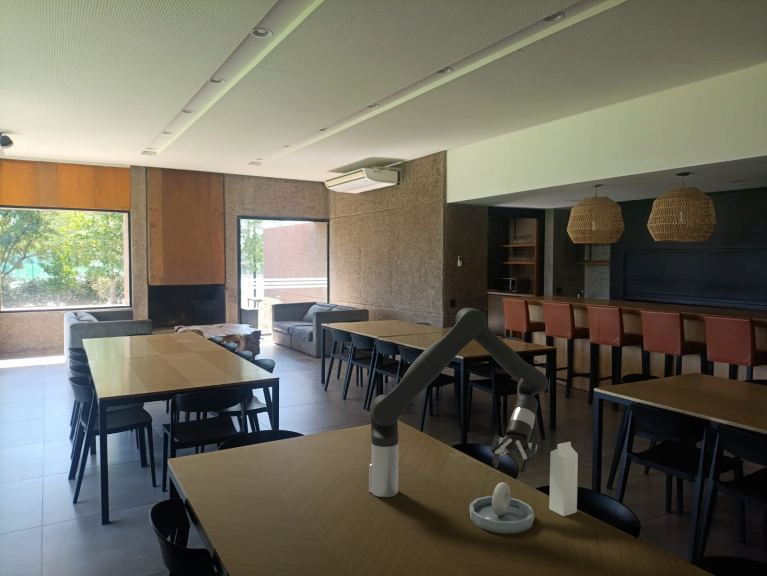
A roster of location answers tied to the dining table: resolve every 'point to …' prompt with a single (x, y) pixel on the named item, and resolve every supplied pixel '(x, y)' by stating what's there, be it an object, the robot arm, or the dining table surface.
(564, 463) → the milk
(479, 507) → the bowl
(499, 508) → the donut
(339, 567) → the dining table surface
